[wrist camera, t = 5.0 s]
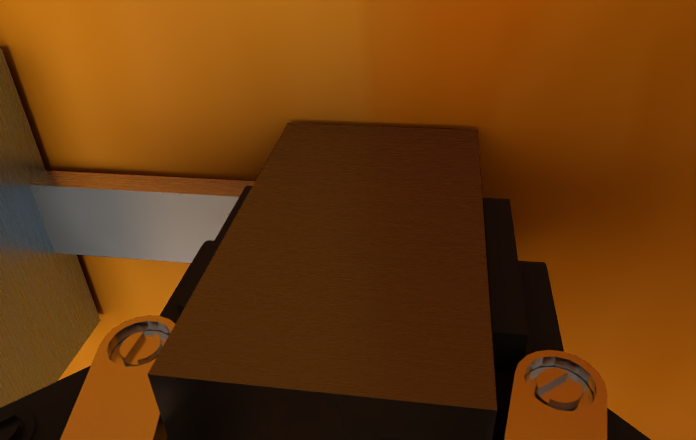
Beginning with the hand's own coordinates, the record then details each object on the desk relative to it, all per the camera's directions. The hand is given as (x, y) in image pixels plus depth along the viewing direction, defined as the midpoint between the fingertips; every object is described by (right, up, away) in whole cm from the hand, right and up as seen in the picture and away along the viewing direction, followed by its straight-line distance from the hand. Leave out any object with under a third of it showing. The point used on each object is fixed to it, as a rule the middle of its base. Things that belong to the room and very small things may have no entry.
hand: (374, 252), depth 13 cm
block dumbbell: (-4, +1, +1) cm, 4 cm away
